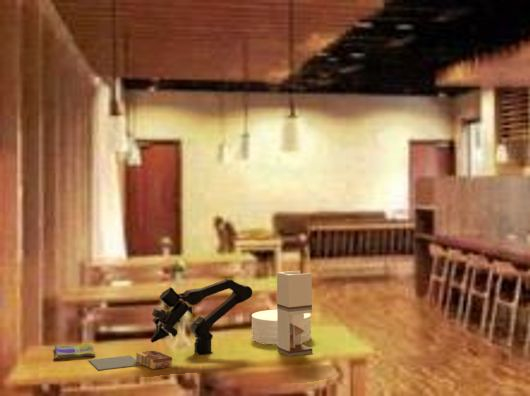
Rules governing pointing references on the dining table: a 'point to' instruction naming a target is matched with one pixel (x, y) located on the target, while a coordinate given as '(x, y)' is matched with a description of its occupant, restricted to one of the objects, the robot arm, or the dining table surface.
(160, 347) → the dining table surface
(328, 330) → the dining table surface
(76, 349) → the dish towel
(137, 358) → the candy box
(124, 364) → the mat
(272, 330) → the plate stack
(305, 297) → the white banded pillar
